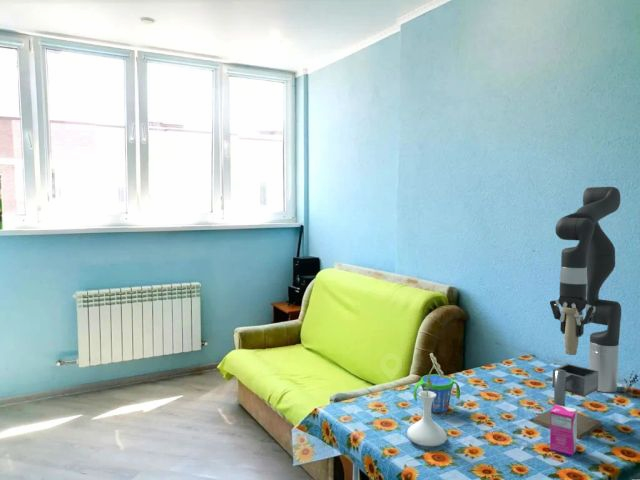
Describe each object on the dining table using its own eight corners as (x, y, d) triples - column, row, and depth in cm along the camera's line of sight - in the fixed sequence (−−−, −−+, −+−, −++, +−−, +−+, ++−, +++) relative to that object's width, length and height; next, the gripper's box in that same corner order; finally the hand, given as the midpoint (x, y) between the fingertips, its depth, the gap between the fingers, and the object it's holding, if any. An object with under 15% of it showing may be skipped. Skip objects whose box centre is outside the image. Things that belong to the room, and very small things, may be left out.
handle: (584, 354, 150) (586, 308, 149) (570, 357, 147) (571, 309, 146) (571, 350, 154) (572, 305, 153) (557, 353, 151) (558, 306, 151)
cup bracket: (559, 408, 159) (560, 356, 158) (604, 423, 148) (606, 366, 147) (533, 422, 149) (534, 366, 148) (579, 439, 138) (581, 378, 137)
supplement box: (554, 442, 136) (555, 403, 135) (577, 449, 132) (578, 409, 131) (548, 450, 131) (549, 410, 131) (572, 457, 128) (573, 416, 127)
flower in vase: (439, 454, 129) (441, 364, 128) (400, 443, 135) (401, 357, 134) (453, 435, 140) (455, 352, 139) (417, 426, 147) (417, 346, 145)
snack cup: (416, 415, 154) (416, 385, 153) (410, 402, 164) (410, 374, 164) (464, 416, 154) (465, 385, 153) (455, 402, 164) (456, 374, 164)
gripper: (602, 282, 146) (600, 337, 147) (556, 277, 157) (555, 328, 158) (591, 285, 141) (589, 341, 142) (545, 279, 153) (543, 332, 154)
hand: (571, 334), depth 150 cm, fingers closed on handle, 4 cm apart
